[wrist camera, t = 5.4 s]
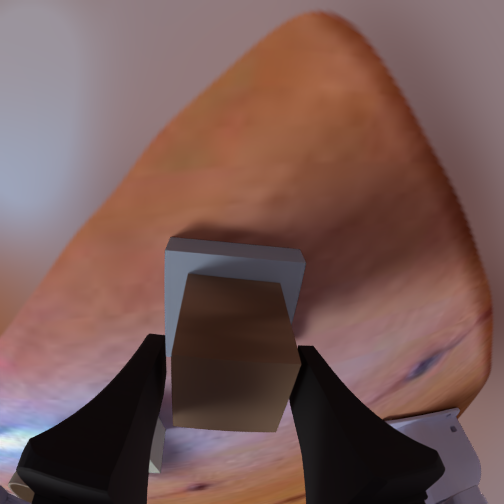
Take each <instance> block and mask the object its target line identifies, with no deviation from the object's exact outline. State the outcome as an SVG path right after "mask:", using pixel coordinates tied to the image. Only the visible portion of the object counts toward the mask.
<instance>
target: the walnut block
mask: <svg viewBox="0 0 504 504" xmlns="http://www.w3.org/2000/svg"><path fill="white" fill-rule="evenodd" d="M300 366H301V361H300V357H299V353H298V349H297V345H296V341H295V337H294V334H293V330H292V326H291V322H290V318H289V314H288V310H287V307H286V303H285V299H284V295H283V292H282V288H281V284H280V283H276V282H266V281H255V280H245V279H236V278H226V277H217V276H207V275H198V274H189V273H188V275H187V280H186V284H185V289H184V294H183V298H182V303H181V308H180V313H179V317H178V322H177V327H176V332H175V337H174V343H173V348H172V353H171V377H172V412H173V426H178V427H186V428H196V429H208V430H221V431H240V432H276V431H277V428H278V426H279V423H280V420H281V418H282V415H283V413H284V410H285V407H286V405H287V402H288V400H289V397H290V394H291V391H292V389H293V386H294V383H295V381H296V378H297V375H298V372H299V369H300Z"/></svg>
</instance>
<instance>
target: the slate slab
mask: <svg viewBox="0 0 504 504" xmlns="http://www.w3.org/2000/svg"><path fill="white" fill-rule="evenodd" d="M305 266H306V262H305V259H304V257H303V255H302V253H301V251H300V249H292V248H281V247H271V246H261V245H250V244H240V243H229V242H218V241H208V240H197V239H186V238H175V237H170V240H169V242H168V244H167V247H166V249H165V340H166V356H168V357H171V353H172V348H173V343H174V337H175V332H176V327H177V322H178V317H179V313H180V308H181V303H182V298H183V294H184V289H185V284H186V280H187V275H188V273H189V274H198V275H207V276H217V277H226V278H236V279H245V280H255V281H266V282H276V283H280V284H281V288H282V292H283V295H284V299H285V303H286V307H287V310H288V314H289V318H290V322H291V325H292V321H293V317H294V313H295V309H296V305H297V301H298V297H299V292H300V288H301V284H302V279H303V275H304V271H305Z"/></svg>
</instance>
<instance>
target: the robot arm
mask: <svg viewBox="0 0 504 504" xmlns="http://www.w3.org/2000/svg"><path fill="white" fill-rule="evenodd" d="M298 353H299V357H300V361H301V366H300V369H299V372H298V375H297V378H296V381H295V383H294V386H293V389H292V391H291V394H290V397H289V400H290V406H291V410H292V414H293V419H294V423H295V427H296V431H297V435H298V439H299V443H300V448H301V453H302V460H303V469H304V479H305V491H306V504H488V502H487V500H486V498H485V497H484V495H483V494H481V492H480V490H479V488H478V484H479V482H480V478H481V465H480V461H479V459H478V456H477V454H476V452H475V450H474V448H473V447H472V445H471V443H470V441H469V440H468V437H467V436H466V434H465V432H464V430H463V428H462V426H461V425H460V423H459V421H458V419H457V418H456V416H457V415H458V413H459V412H460V410H459V408H453V409H449V410H444V411H440V412H435V413H430V414H425V415H420V416H414V417H409V418H403V419H397V420H390V421H384V420H382V419H381V418H380V417H378V416H377V415H376V414H375V413H373V412H372V411H371V410H370V409H369V408H368V407H366V406H365V405H364V404H363V403H362V402H361V401H360V400H359V399H358V398H357V397H356V396H355V395H354V394H353V393H352V392H351V391H350V390H349V389H348V388H347V387H346V386H345V384H344V383H343V382H342V381H341V380H340V379H339V378H338V376H337V375H336V374H335V373H334V372H333V370H332V369H331V368H330V367H329V365H328V364H327V363H326V361H325V360H324V359H323V358H322V356H321V355H320V354H319V353H318V351H317V350H316V349H315V347H314V346H300V345H298ZM165 380H166V343H165V335H157V334H148V335H147V336H146V338H145V340H144V341H143V343H142V344H141V345H140V347H139V348H138V350H137V351H136V352H135V354H134V355H133V356H132V358H131V359H130V360H129V361H128V363H127V364H126V365H125V366H124V368H123V369H122V370H121V371H120V372H119V373H118V374H117V376H116V377H115V378H114V379H113V380H112V381H111V382H110V383H109V384H108V385H107V386H106V387H105V388H104V389H103V390H102V391H101V392H100V393H99V394H98V395H97V396H96V397H95V398H93V399H92V400H91V401H90V402H89V403H87V404H86V405H85V406H84V407H82V408H81V409H80V410H79V411H77V412H76V413H74V414H73V415H71V416H70V417H68V418H67V419H65V420H64V421H62V422H61V423H59V424H57V425H56V426H54V427H52V428H51V429H49V430H47V431H45V432H43V433H41V434H39V435H37V436H35V437H33V438H30V439H29V441H28V443H27V445H26V446H25V448H24V450H23V452H22V455H21V458H20V460H19V463H18V466H17V469H16V470H17V474H18V476H19V477H20V478H21V479H22V481H23V482H24V483H25V484H26V485H27V486H28V487H29V488H30V489H31V490H32V491H33V492H34V496H33V500H32V503H30V502H27V501H25V500H23V499H20V498H18V497H16V496H14V495H11V494H9V493H7V491H6V490H5V489H4V488H3V487H2V486H1V485H0V504H147V487H148V475H149V464H150V454H151V447H152V441H153V437H154V432H155V428H156V424H157V420H158V416H159V412H160V408H161V403H162V399H163V395H164V388H165Z"/></svg>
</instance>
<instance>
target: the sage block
mask: <svg viewBox="0 0 504 504" xmlns="http://www.w3.org/2000/svg"><path fill="white" fill-rule="evenodd" d="M165 431H166V429H165V428H164V426H163V424H162V422H161V420H160V419H159V417H158V420H157V424H156V428H155V432H154V437H153V441H152V447H151V454H150V464H149V473H161V464H162V455H163V447H164V439H165Z"/></svg>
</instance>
